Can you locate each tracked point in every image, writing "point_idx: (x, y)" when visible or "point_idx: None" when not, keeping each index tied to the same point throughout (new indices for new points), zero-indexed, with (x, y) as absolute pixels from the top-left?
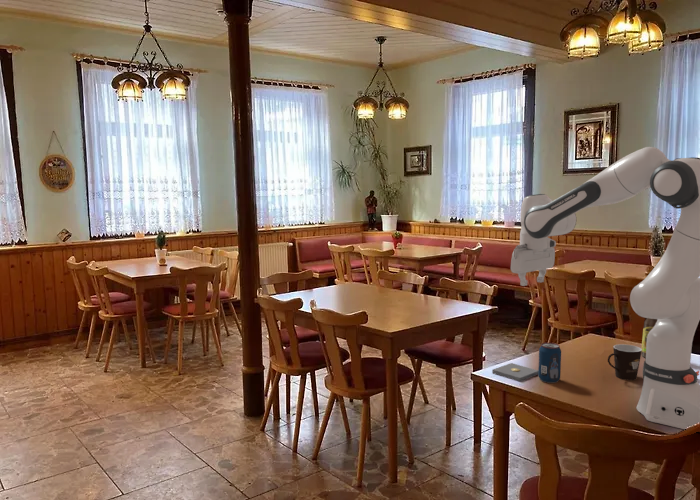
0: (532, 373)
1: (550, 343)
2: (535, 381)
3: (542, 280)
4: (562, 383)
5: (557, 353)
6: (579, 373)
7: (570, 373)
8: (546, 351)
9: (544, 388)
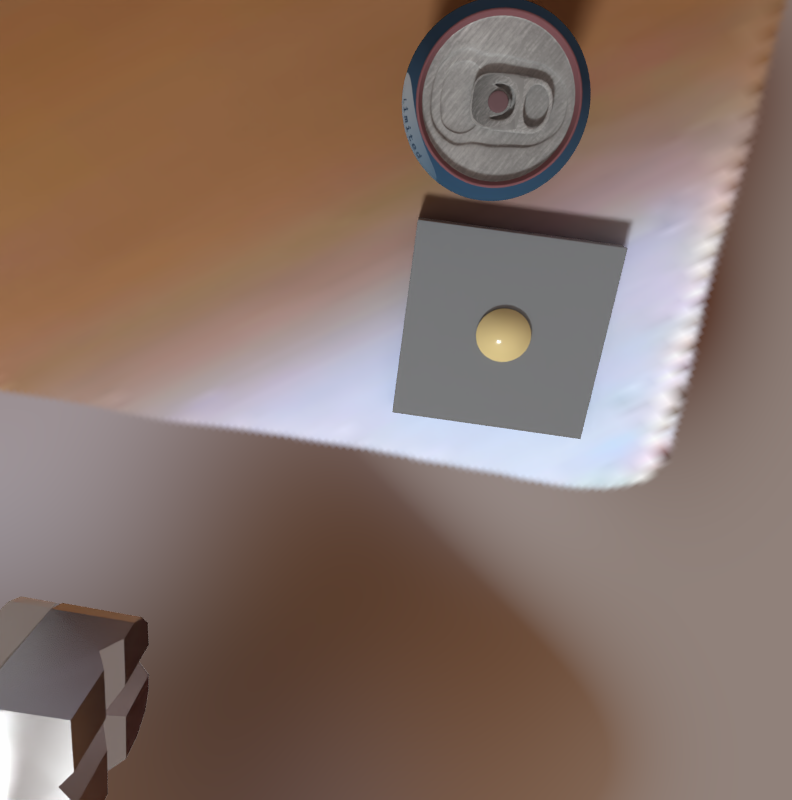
0: (489, 229)
1: (427, 134)
2: None
3: (59, 630)
4: None
5: (538, 7)
6: (219, 9)
7: (263, 60)
8: (586, 95)
9: (652, 63)
